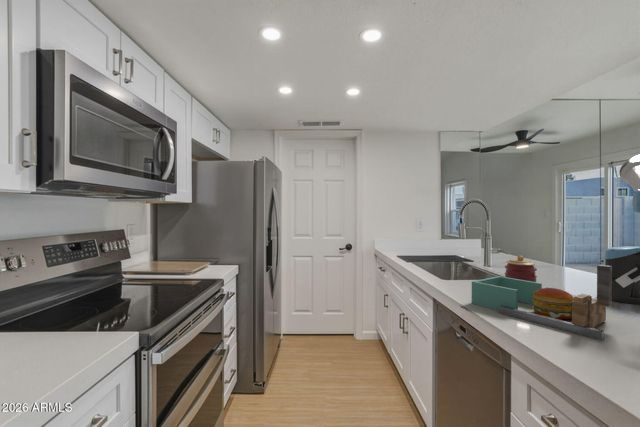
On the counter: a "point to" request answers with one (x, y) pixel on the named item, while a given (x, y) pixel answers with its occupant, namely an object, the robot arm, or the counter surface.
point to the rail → (552, 322)
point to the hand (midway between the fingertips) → (625, 281)
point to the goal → (503, 292)
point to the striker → (594, 301)
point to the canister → (521, 269)
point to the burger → (553, 303)
